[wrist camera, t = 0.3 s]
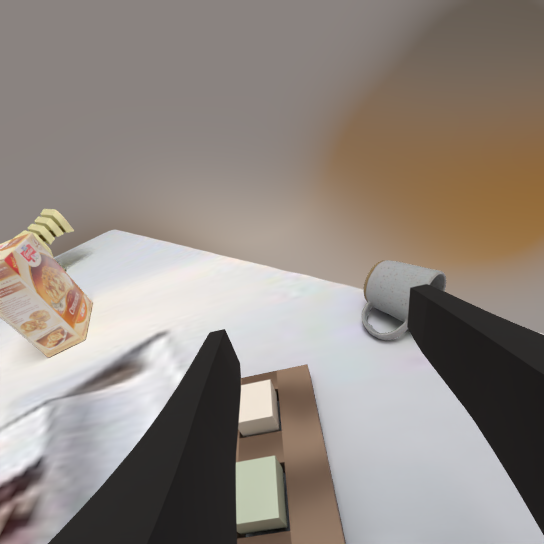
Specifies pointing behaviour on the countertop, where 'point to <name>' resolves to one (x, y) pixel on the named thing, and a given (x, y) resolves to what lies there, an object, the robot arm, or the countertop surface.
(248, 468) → the sage button
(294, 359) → the countertop surface
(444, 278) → the ceramic mug
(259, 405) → the cream button
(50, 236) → the slatted lounge chair
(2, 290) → the coffeecake box
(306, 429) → the button panel
